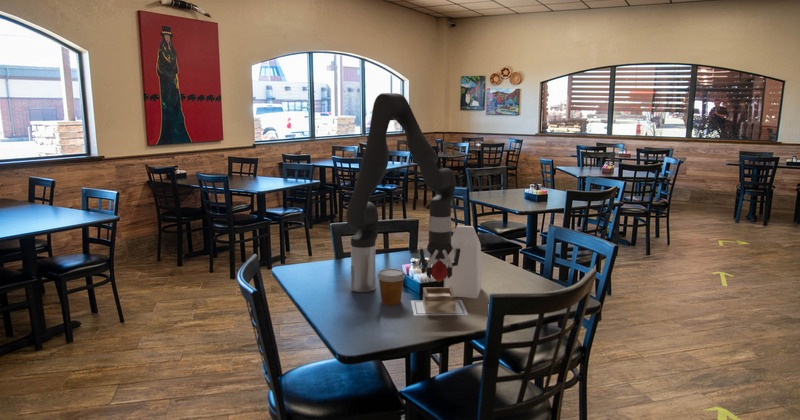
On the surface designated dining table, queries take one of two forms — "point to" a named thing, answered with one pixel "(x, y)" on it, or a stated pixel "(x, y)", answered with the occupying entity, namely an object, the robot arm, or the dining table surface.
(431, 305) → the square wooden tray
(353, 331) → the dining table surface
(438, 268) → the red round fruit
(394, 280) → the disposable coffee cup
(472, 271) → the milk
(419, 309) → the board
